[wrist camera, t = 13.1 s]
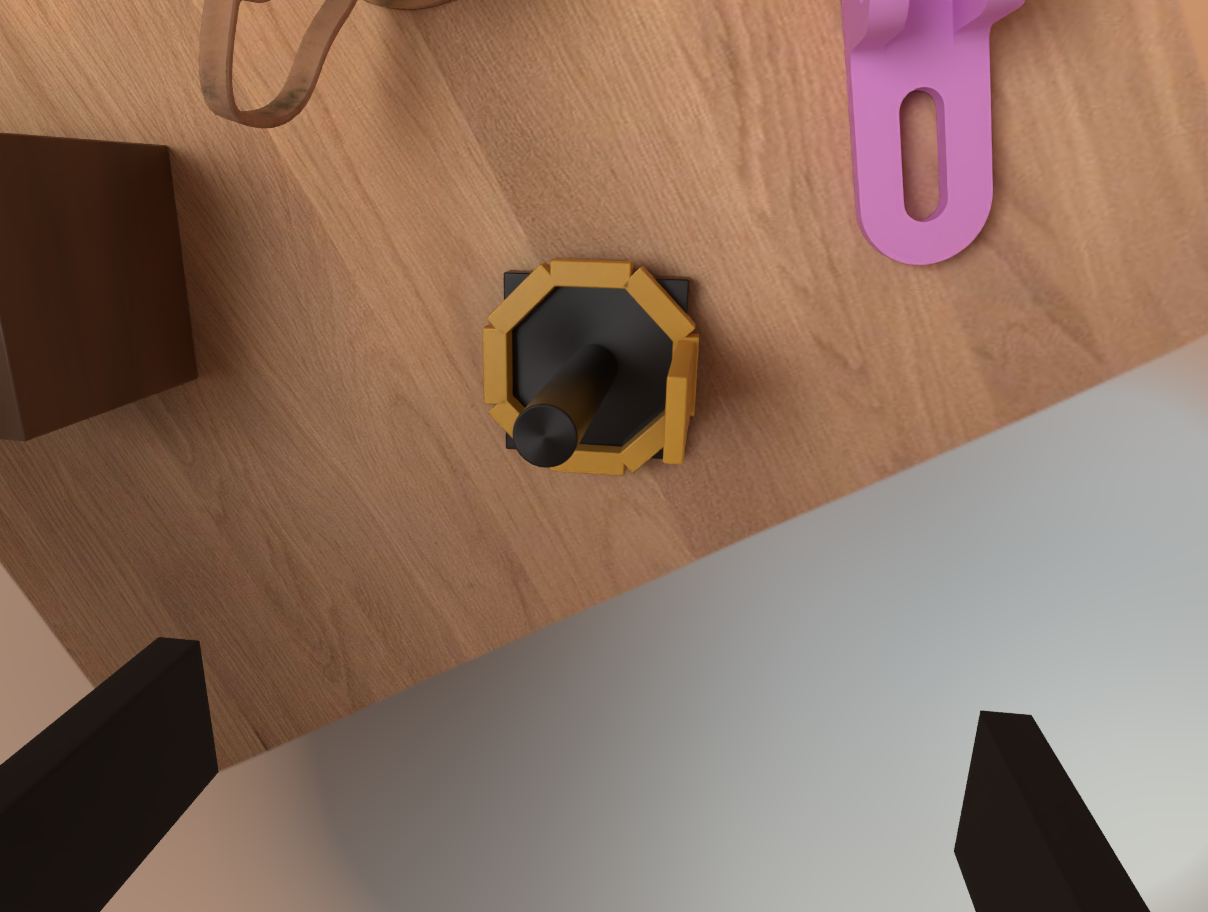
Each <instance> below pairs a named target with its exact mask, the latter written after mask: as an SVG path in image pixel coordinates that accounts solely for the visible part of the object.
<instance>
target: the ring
mask: <svg viewBox="0 0 1208 912" xmlns="http://www.w3.org/2000/svg"><path fill="white" fill-rule="evenodd" d="M556 286H562V287H587V288H612V289H625V290H626V291H627V292H628V293H629V294H630V295H631V296H632V297H633V298H634V299H635V300H636V302H637V303H638V304H639V305H640V306H641V307H642V308H643V309H644V310H645V311H646V313H647V314H648V315H649V316H650V317H651V318H652V319H653V320H654V321H655V322H656V323H657V325H658V326H659V327H660V328H661V329H662V330H663V331H664V332H665V333H666V334H667V336H668V337H669V338H670V339H671V340H672V341H673V352H672V362H671V366H670V369H669V373H668V376H667V386H666V406H665V410H664V411H663V412H662V413H660V414H659V415H658V416H657V417H656V418H655V419H653V420H652V421H651V422H650V423H649V424H648V425H647V426H645V427H644V428H643V429H642V430H641V431H640V432H639V433H637V434H636V435H635V436H634V437H633V438H632V439H630V440H629V441H628V442H627V443H626V444H625V445H624V446H622V447H619V446H603V445H587V444H578V446H577V448H576V450H575V452H574V453H573V455H572V456H571V457H570V458H569V459H568V460H567V461H566V462H565V463H563V464H561V465H559V466H555V467H550V468H549V469H550V471H559V472H574V473H589V474H604V475H619V476H623V475H624V473H625V470H626V466H627V468H628V469H629V470H630V471H631V472H635V471H636V470H637V469H638V468H639V467H641V466H642V465H643V464H644V463H645V462H647V461H648V460H649V459H650V458H651V457H652V456H654V455H655V454H656V453H657V452H658V451H659V450H661V449H662V448H663V463H665V464H680V465H681V464H683V461H684V454H685V446H686V439H687V432H688V426H689V423H690V416H694V413H695V401H696V384H697V367H698V351H699V334H692V333H691V332H692V331H693V330H694V329H695V326H696V324H695V323H694V322H693V320H692V319H691V318H690V317H689V316H688V315H687V314H686V313H685V312H684V310H683V309H682V308H681V307H680V306H679V305H678V304H677V303H676V302H675V301H674V299H673V298H672V297H671V296H670V295H669V294H668V293H667V292H666V291H665V289H664V288H663V287H662V286H661V285H660V284H659V283H658V282H657V281H656V280H655V278H654V277H653V276H652V275H651V274H650V273H649V272H648V271H647V270H646V268H645V267H644V266H641V267H640V268H639V269H638V270H637V271H636V272H635V273H634V274H633V261H619V260H591V259H564V258H555V259H553V260H551V261H550V266H549V265H548V264H547V263H546V262H545V263H542V264H540V265H539V266H538V267H537V268H536V269H535V270H534V271H533V272H532V273H531V274H530V275H529V276H528V277H527V278H526V279H525V280H524V281H523V282H522V283H521V284H520V285H519V286H518V287H517V288H516V289H515V290H514V291H513V292H512V293H511V294H510V295H509V296H508V297H507V298H506V299H505V300H504V301H503V302H502V303H501V304H500V305H499V306H498V307H497V308H496V309H495V310H494V311H493V312H492V313H491V314H490V315H489V316H488V317H487V320H488V321H489V322H490V323H491V324H489V325H487V326H486V327H484V328H483V371H484V403H485V404H496V405H495V406H494V407H493V408H492V409H491V410H490V411H489V412H488V413H489V414H490V415H491V416H492V417H493V419H494V420H495V421H496V422H497V423H498V424H499V425H500V426H501V427H502V428H503V429H504V430H505V431H506V432H507V433H508V434H509V435H510V436H511V437H512V438H513V426H514V423H515V421H516V419H517V417H518V416H519V414H520V413H521V412H522V411H523V410H524V409H525V407H524V406H523V405H522V404H521V403H520V402H519V401H518V400H517V399H516V398H515V397H514V396H513V376H512V330H513V329H514V328H515V327H516V326H517V325H518V324H519V323H520V322H521V321H522V320H523V319H524V318H525V317H526V316H527V315H528V314H529V313H530V312H531V311H532V310H533V309H534V308H535V307H536V306H537V305H538V304H539V303H540V302H541V301H542V300H543V299H544V298H545V297H546V296H547V295H548V294H549V293H550V292H551V291H552V290H553V289H554V288H555V287H556Z"/></svg>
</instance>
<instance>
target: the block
mask: <svg viewBox="0 0 1208 912" xmlns="http://www.w3.org/2000/svg"><path fill="white" fill-rule="evenodd" d="M195 379H197V371H196V363H195V355H194V348H193V340H192V332H191V325H190V317H189V309H188V302H187V294H186V286H185V278H184V271H183V263H182V255H181V248H180V240H179V232H178V225H177V217H176V209H175V202H174V194H173V186H172V178H171V171H170V163H169V155H168V148H167V146H165V145H154V144H141V143H128V142H115V141H103V140H90V139H77V138H64V137H51V136H38V135H25V134H12V133H0V440H12V441H27V440H30V439H33V438H36V437H38V436H41V435H44V434H47V433H49V432H52V431H55V430H58V429H60V428H63V427H66V426H69V425H71V424H74V423H77V422H80V421H82V420H85V419H88V418H91V417H93V416H96V415H99V414H102V413H104V412H107V411H110V410H113V409H115V408H118V407H121V406H124V405H126V404H129V403H132V402H135V401H137V400H140V399H143V398H146V397H148V396H151V395H154V394H157V393H160V392H162V391H165V390H168V389H171V388H173V387H176V386H179V385H182V384H184V383H187V382H190V381H193V380H195Z"/></svg>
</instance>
